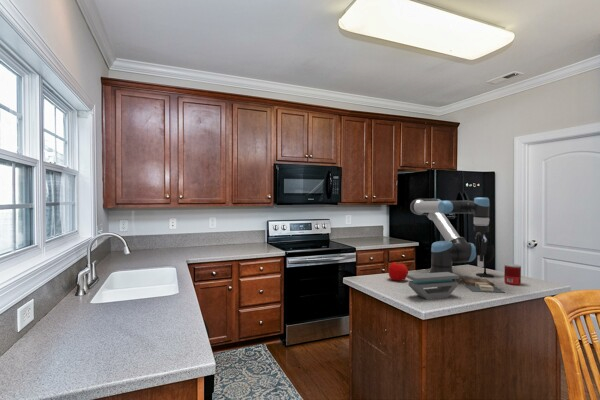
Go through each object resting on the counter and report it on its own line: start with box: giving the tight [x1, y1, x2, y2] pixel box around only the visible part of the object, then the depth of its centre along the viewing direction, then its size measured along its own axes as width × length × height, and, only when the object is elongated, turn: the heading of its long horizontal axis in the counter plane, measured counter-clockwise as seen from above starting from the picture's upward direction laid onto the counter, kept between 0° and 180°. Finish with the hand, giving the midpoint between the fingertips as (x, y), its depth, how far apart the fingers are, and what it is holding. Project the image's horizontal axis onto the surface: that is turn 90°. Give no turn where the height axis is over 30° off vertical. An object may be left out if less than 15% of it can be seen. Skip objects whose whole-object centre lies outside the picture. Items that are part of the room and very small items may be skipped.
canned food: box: [504, 263, 522, 286], centre depth 188 cm, size 8×8×11 cm
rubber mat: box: [464, 284, 506, 294], centre depth 176 cm, size 16×11×1 cm
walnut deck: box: [460, 277, 495, 286], centre depth 187 cm, size 14×10×2 cm
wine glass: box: [475, 243, 496, 279], centre depth 207 cm, size 10×10×20 cm
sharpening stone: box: [406, 272, 460, 301], centre depth 163 cm, size 25×8×11 cm, turn 105°
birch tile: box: [475, 282, 494, 291], centre depth 177 cm, size 9×6×2 cm, turn 171°
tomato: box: [388, 261, 409, 282], centre depth 195 cm, size 12×12×11 cm
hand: (480, 266), depth 182 cm, fingers closed
